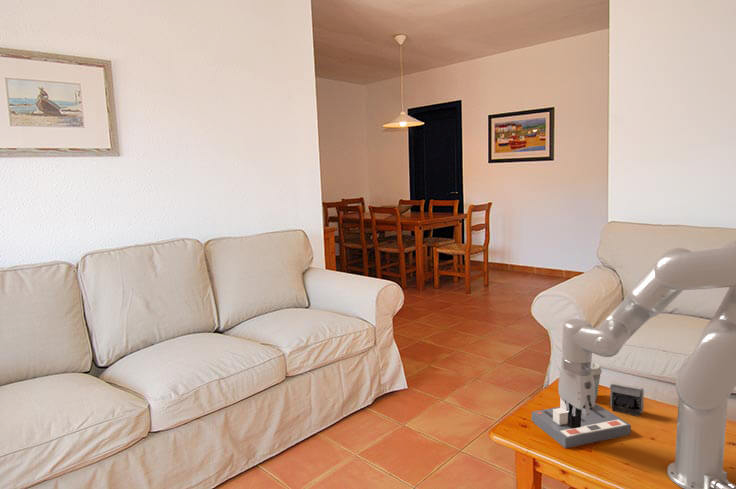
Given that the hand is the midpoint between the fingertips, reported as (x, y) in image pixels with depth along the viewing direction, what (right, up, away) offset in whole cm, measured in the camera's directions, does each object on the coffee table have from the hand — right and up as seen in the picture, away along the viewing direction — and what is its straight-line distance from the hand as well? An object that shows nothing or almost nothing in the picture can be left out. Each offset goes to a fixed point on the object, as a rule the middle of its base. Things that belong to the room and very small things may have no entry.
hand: (574, 426), depth 134 cm
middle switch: (+4, 0, +14) cm, 14 cm away
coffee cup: (+16, -1, +27) cm, 32 cm away
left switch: (-1, -1, +6) cm, 6 cm away
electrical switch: (+24, -2, +17) cm, 29 cm away
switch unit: (+5, -4, +9) cm, 11 cm away
